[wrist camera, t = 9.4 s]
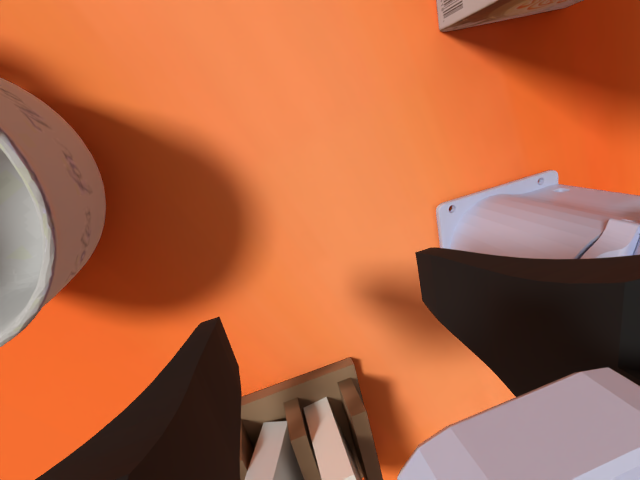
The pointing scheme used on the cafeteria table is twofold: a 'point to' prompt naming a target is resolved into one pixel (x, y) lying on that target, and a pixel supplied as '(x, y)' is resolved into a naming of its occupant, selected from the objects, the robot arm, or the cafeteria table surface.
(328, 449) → the white upright slab
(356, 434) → the rack
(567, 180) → the cafeteria table surface
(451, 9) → the coffee box
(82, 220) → the teacup
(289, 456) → the racked plate
